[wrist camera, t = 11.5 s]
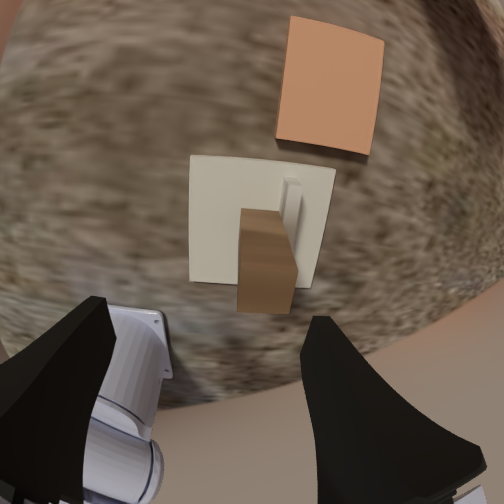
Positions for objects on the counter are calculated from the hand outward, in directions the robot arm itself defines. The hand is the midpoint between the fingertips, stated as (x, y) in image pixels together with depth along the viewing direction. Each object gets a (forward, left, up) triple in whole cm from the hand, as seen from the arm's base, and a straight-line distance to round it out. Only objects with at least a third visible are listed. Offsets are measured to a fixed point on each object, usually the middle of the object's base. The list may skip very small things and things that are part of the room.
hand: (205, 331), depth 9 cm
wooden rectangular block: (0, -2, -10) cm, 10 cm away
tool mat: (-1, -2, -10) cm, 11 cm away
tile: (+9, -3, -10) cm, 14 cm away
